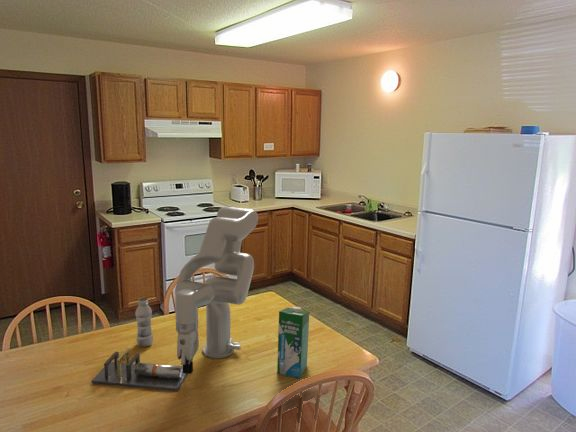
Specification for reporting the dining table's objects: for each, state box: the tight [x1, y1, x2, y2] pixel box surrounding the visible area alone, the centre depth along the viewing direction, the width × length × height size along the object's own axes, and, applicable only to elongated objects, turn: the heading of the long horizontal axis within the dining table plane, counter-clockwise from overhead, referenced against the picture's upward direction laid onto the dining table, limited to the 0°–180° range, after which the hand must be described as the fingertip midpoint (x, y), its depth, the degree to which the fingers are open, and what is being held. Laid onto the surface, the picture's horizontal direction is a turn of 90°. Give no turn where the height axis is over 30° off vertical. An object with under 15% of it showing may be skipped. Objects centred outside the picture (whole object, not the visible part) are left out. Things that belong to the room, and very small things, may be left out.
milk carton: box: [276, 306, 310, 379], centre depth 157 cm, size 9×9×25 cm
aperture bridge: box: [117, 348, 131, 379], centre depth 151 cm, size 1×8×8 cm, turn 174°
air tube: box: [135, 362, 183, 378], centre depth 150 cm, size 16×4×4 cm, turn 85°
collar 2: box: [126, 352, 141, 380], centre depth 150 cm, size 1×8×6 cm, turn 174°
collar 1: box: [103, 351, 120, 378], centre depth 151 cm, size 1×8×6 cm, turn 175°
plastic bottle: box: [135, 297, 154, 348], centre depth 171 cm, size 6×7×20 cm
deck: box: [91, 361, 188, 392], centre depth 151 cm, size 31×12×1 cm, turn 85°
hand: (187, 372), depth 149 cm, fingers closed
